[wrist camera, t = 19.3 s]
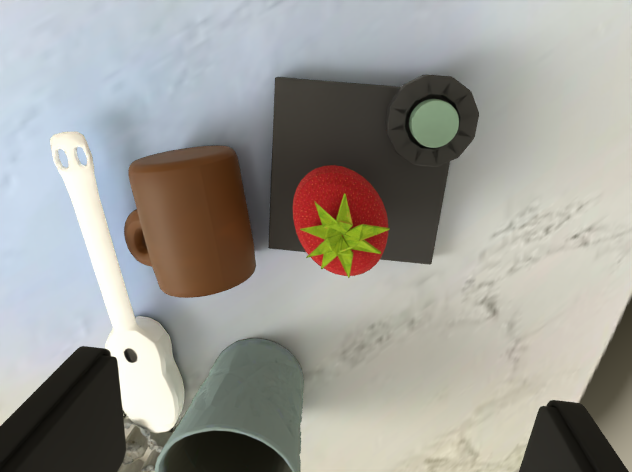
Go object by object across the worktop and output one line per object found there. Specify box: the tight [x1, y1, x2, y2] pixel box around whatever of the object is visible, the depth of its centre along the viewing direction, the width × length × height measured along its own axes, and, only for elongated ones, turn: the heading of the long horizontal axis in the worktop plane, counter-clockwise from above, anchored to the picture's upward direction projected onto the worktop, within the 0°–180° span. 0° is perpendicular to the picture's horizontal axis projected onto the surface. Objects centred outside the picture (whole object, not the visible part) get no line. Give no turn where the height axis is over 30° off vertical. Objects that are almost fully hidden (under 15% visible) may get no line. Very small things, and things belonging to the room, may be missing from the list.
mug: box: [124, 146, 256, 298], centre depth 34 cm, size 12×8×9 cm
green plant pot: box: [155, 339, 304, 472], centre depth 36 cm, size 10×10×12 cm
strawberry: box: [293, 165, 390, 278], centre depth 29 cm, size 6×8×10 cm
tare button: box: [409, 99, 459, 148], centre depth 29 cm, size 3×3×2 cm
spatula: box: [50, 132, 185, 433], centre depth 38 cm, size 28×6×3 cm, turn 7°
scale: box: [269, 75, 479, 264], centre depth 33 cm, size 14×14×3 cm
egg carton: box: [118, 416, 173, 472], centre depth 44 cm, size 11×8×4 cm
